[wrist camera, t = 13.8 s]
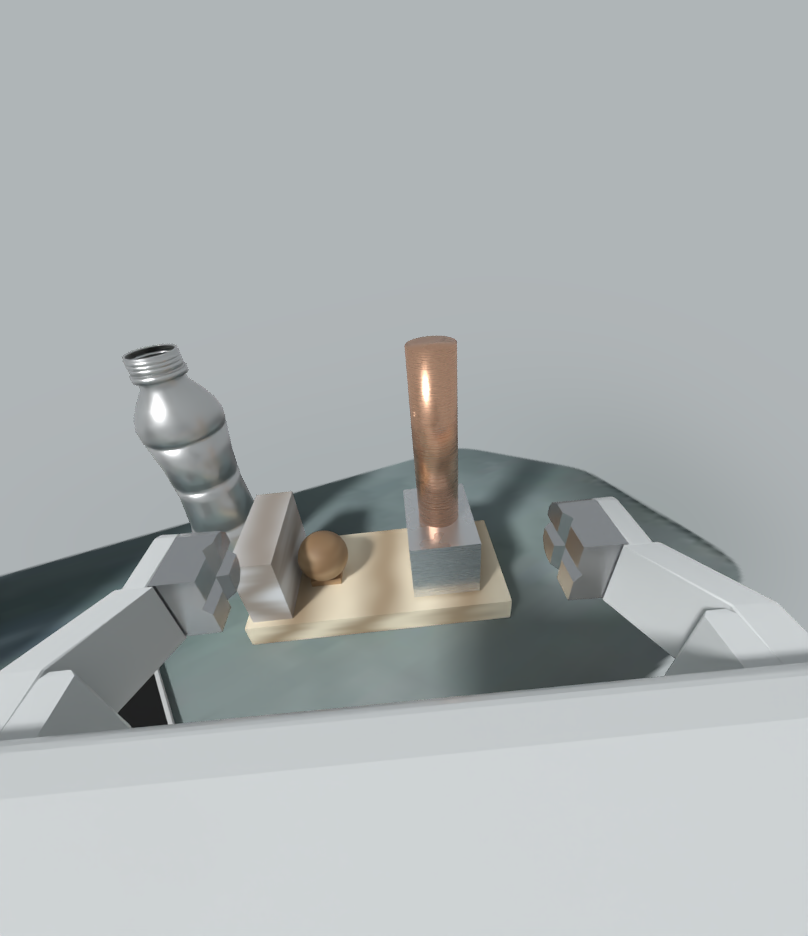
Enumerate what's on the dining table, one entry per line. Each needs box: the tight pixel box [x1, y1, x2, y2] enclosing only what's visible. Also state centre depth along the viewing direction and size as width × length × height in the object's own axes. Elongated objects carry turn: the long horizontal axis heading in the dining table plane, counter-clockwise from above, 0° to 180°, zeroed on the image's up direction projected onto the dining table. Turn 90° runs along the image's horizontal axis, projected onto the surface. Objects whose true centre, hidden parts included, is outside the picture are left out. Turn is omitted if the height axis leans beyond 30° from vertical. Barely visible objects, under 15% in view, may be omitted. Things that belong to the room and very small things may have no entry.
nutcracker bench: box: [233, 492, 512, 645], centre depth 31 cm, size 20×9×8 cm, turn 94°
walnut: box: [298, 531, 348, 587], centre depth 31 cm, size 4×4×4 cm
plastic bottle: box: [122, 344, 254, 552], centre depth 33 cm, size 6×7×20 cm
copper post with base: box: [403, 336, 481, 597], centre depth 27 cm, size 5×7×18 cm
